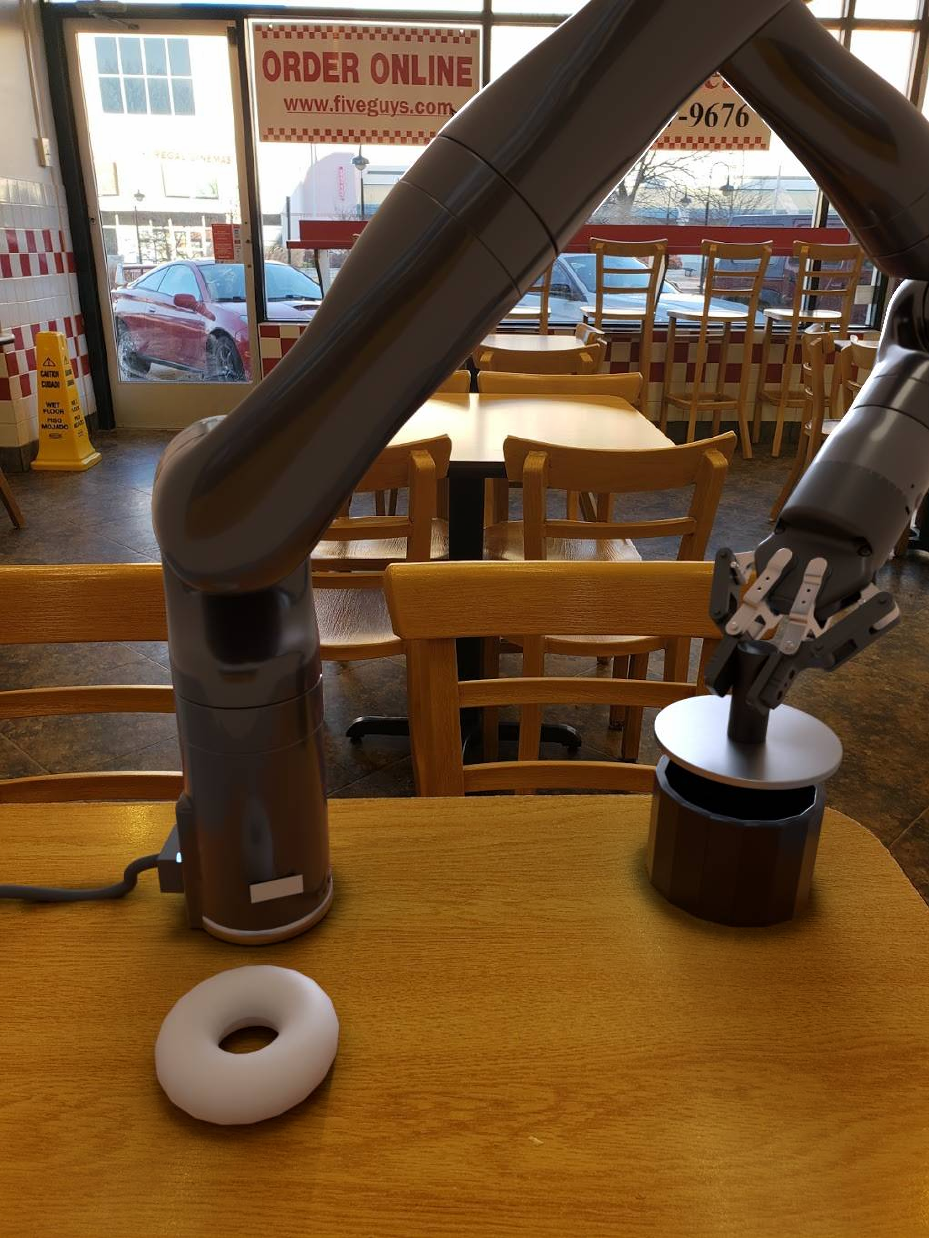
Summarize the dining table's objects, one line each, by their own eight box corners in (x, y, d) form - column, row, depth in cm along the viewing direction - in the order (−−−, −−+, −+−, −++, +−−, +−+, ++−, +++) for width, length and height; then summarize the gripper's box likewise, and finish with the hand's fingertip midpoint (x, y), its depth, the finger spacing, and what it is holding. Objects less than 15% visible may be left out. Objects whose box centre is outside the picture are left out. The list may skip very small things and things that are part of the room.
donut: (316, 1150, 48) (356, 1002, 57) (313, 1101, 46) (354, 957, 56) (127, 1132, 49) (196, 988, 58) (118, 1083, 47) (191, 944, 56)
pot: (662, 932, 63) (674, 825, 60) (634, 835, 74) (643, 739, 71) (831, 935, 63) (852, 827, 60) (779, 837, 74) (794, 741, 71)
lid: (672, 797, 59) (683, 686, 56) (639, 708, 70) (647, 612, 68) (869, 799, 59) (891, 688, 56) (804, 709, 70) (819, 614, 68)
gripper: (754, 441, 67) (628, 640, 64) (952, 475, 57) (813, 713, 54) (786, 502, 72) (671, 689, 69) (973, 544, 62) (846, 764, 59)
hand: (734, 698), depth 62 cm, fingers closed on lid, 2 cm apart
